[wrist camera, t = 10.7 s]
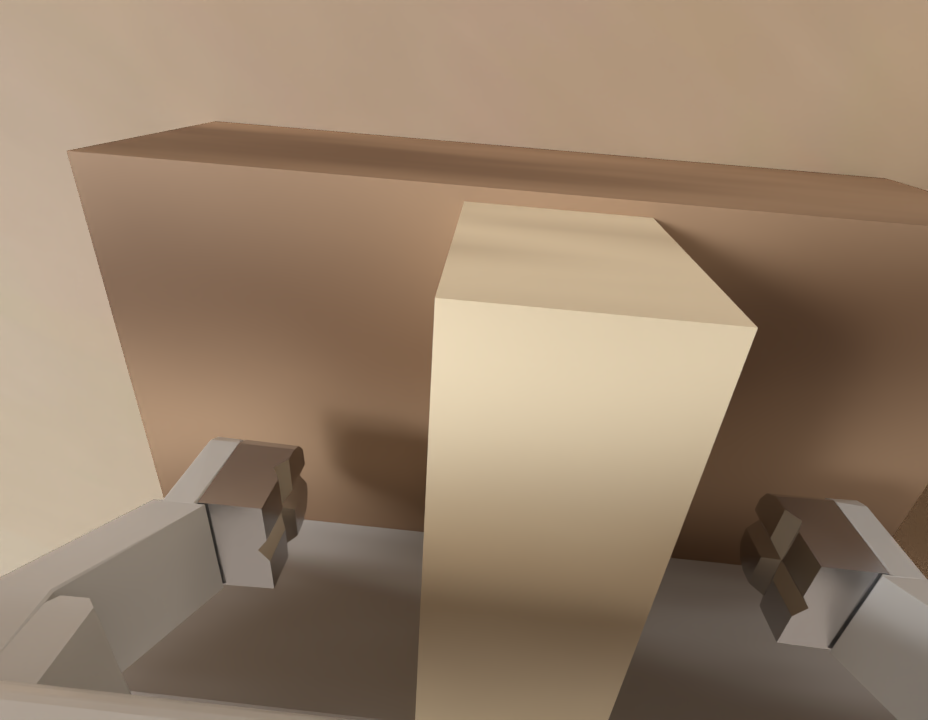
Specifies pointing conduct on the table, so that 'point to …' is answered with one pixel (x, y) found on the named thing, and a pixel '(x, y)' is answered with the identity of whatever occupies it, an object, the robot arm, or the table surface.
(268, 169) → the walnut board
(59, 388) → the table surface
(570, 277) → the scraper
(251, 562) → the robot arm
